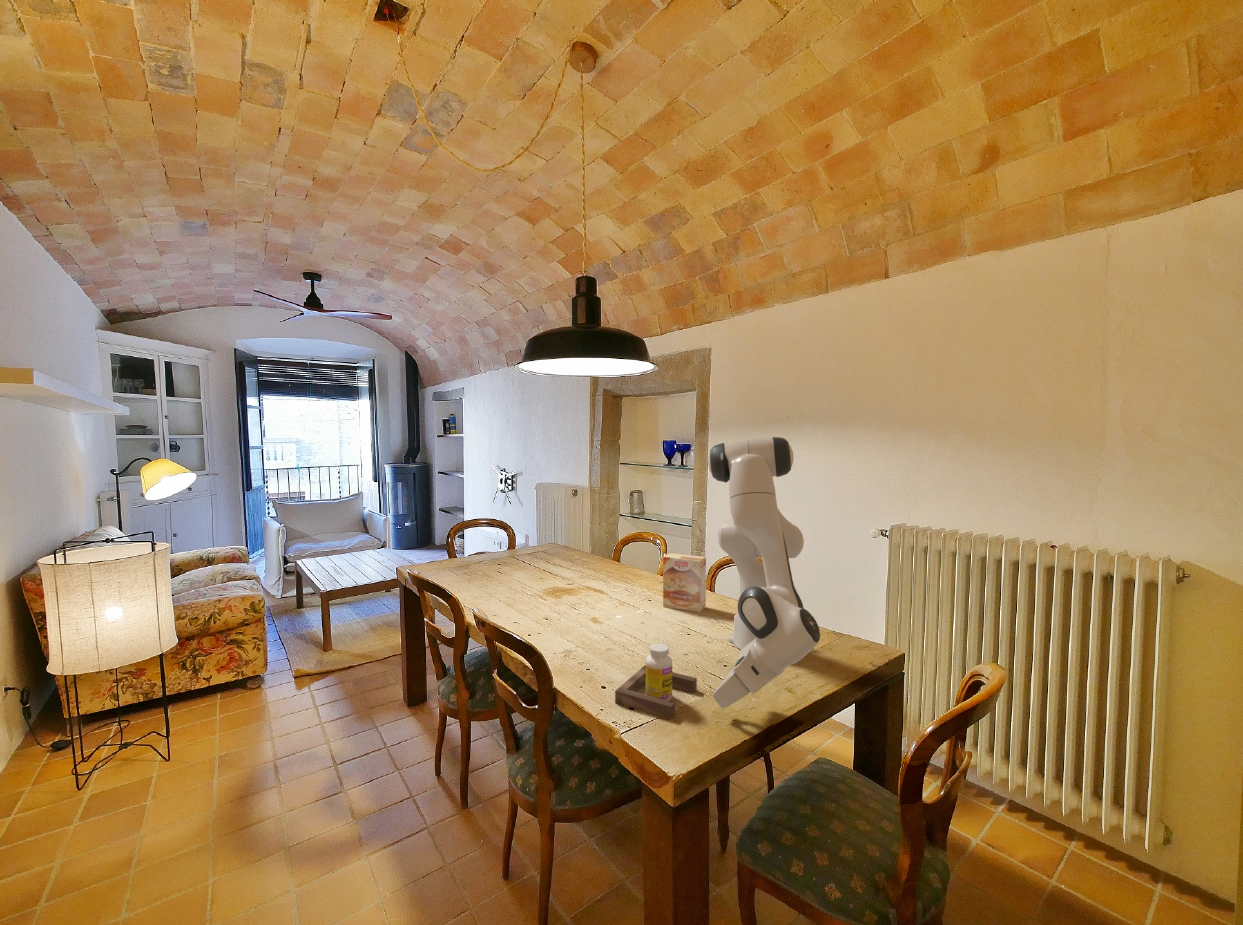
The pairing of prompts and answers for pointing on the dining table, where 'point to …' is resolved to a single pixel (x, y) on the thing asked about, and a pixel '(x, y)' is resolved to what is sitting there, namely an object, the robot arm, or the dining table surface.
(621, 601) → the dining table surface
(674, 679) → the bay
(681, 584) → the coffeecake box
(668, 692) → the supplement bottle
